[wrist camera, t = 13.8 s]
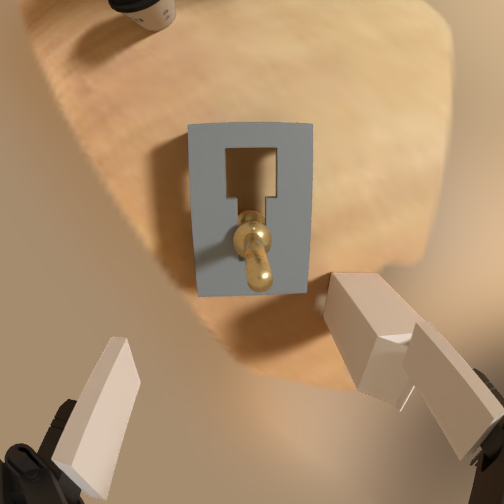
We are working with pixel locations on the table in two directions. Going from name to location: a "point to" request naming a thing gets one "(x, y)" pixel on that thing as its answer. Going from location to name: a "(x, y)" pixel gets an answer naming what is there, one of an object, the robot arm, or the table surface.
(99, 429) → the robot arm
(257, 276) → the brass t bolt
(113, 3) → the coffee cup
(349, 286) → the milk carton
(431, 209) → the table surface
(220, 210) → the keyhole plate
